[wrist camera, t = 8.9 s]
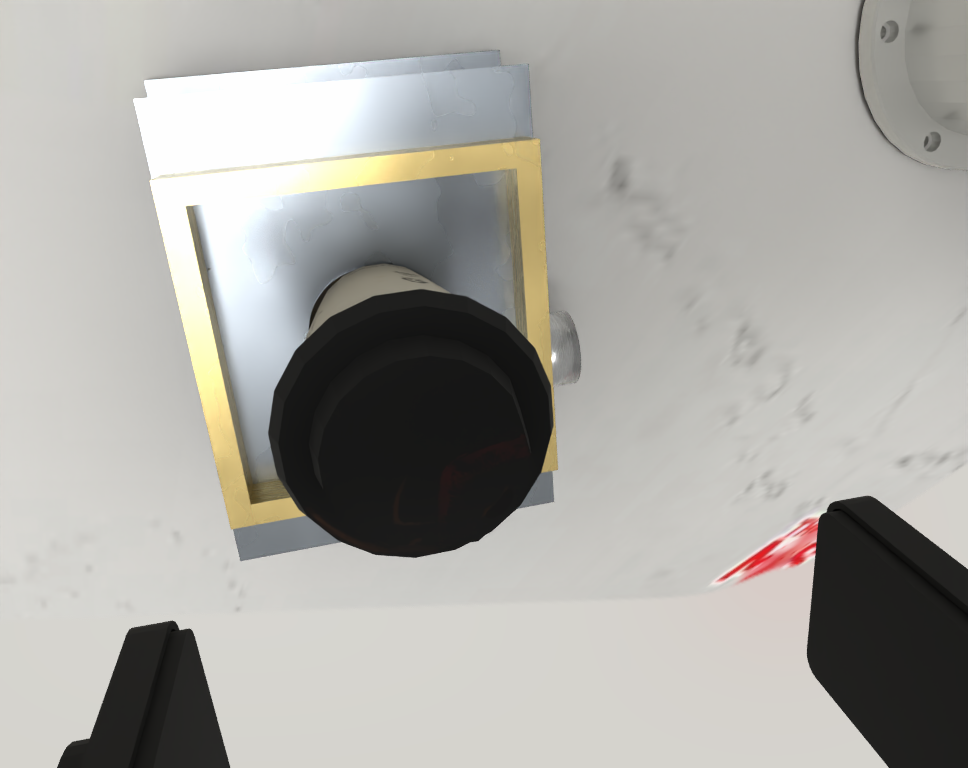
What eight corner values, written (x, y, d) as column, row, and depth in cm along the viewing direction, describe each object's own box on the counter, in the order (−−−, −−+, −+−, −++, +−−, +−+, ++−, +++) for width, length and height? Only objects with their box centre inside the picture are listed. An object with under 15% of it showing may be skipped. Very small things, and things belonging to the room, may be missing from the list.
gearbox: (147, 80, 29) (94, 78, 22) (528, 47, 32) (604, 35, 24) (239, 489, 36) (223, 602, 28) (551, 435, 38) (616, 524, 30)
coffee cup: (234, 352, 26) (200, 496, 17) (361, 182, 25) (396, 239, 16) (402, 458, 29) (449, 632, 20) (522, 308, 28) (631, 418, 19)
